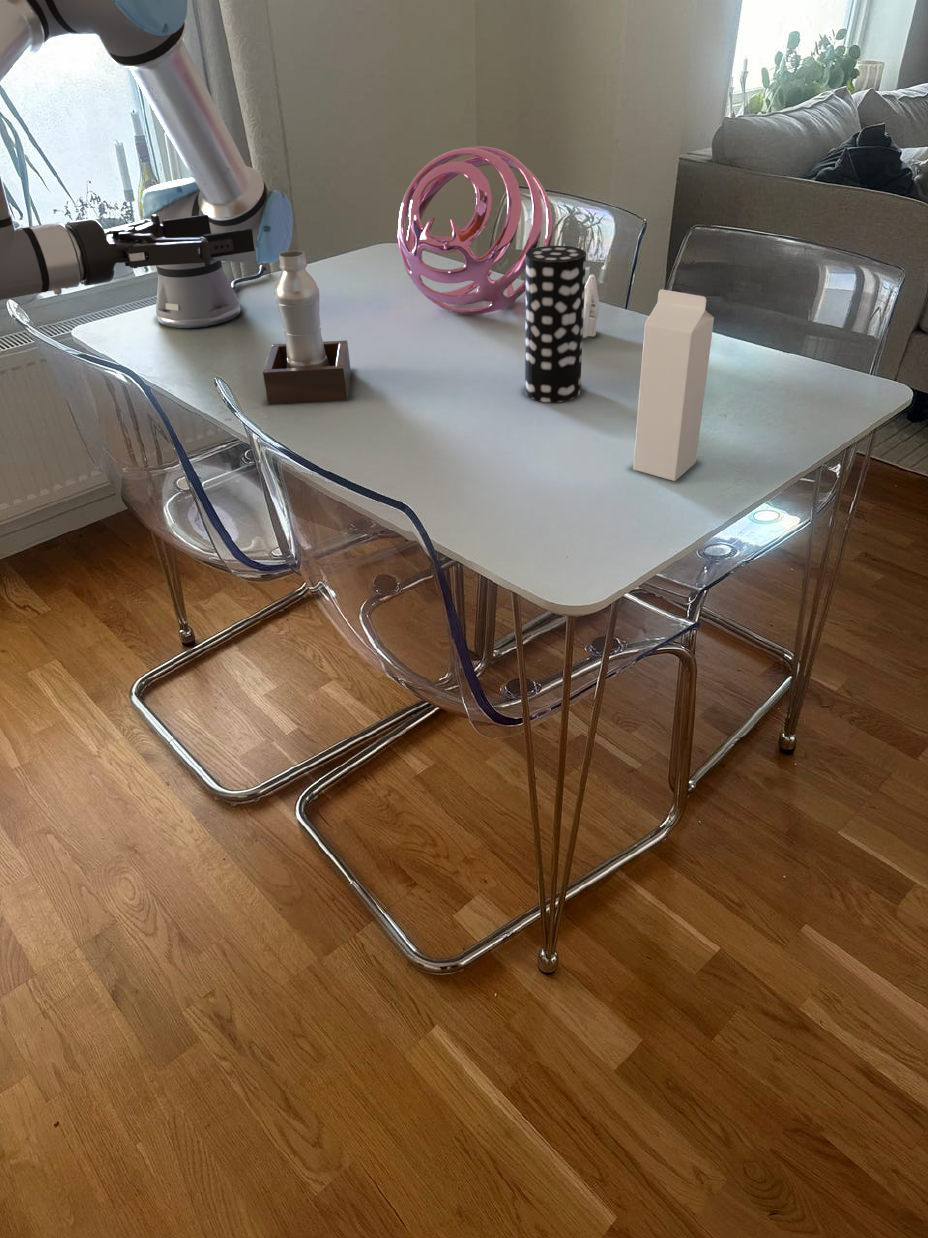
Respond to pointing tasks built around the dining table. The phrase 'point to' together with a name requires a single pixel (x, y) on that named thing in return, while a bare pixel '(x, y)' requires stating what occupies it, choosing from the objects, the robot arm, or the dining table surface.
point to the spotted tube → (554, 322)
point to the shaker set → (590, 307)
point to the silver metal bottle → (299, 312)
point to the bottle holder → (307, 376)
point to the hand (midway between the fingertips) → (229, 231)
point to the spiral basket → (470, 230)
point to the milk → (672, 384)
